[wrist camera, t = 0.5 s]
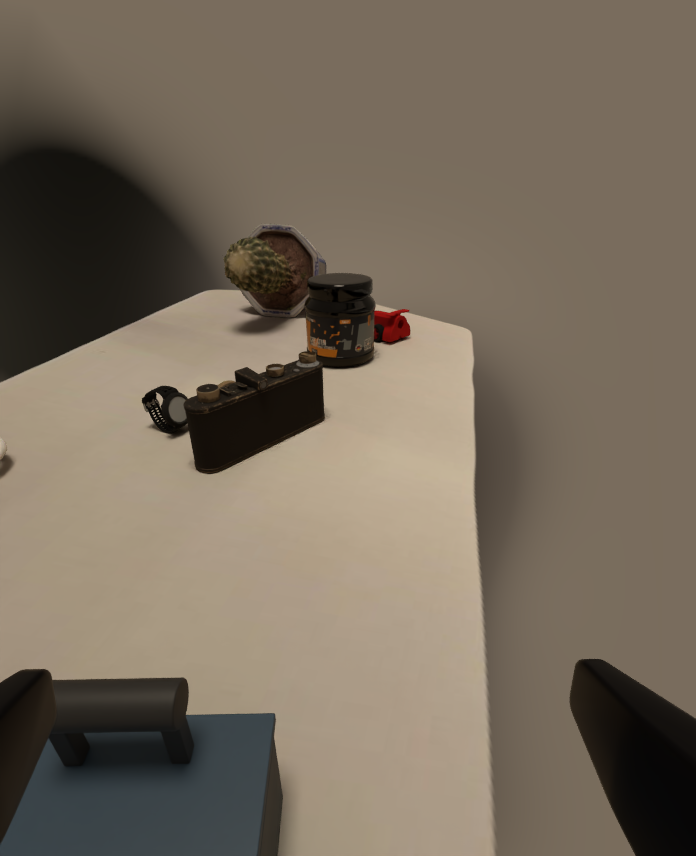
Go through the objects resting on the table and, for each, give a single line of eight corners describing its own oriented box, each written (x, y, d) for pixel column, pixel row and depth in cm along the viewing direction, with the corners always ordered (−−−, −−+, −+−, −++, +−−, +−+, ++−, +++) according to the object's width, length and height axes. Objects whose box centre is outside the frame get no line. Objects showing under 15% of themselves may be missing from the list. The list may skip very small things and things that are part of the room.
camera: (294, 403, 58) (290, 341, 54) (333, 419, 54) (331, 353, 50) (173, 454, 47) (158, 381, 43) (210, 479, 43) (196, 401, 39)
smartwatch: (164, 442, 49) (155, 400, 47) (145, 426, 53) (135, 385, 50) (200, 430, 52) (193, 389, 49) (180, 415, 55) (172, 376, 53)
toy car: (339, 319, 92) (339, 294, 90) (410, 338, 81) (412, 309, 79) (317, 325, 89) (316, 299, 86) (388, 345, 78) (390, 316, 75)
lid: (19, 724, 19) (-24, 654, 17) (275, 719, 19) (266, 648, 17) (-219, 1126, 11) (-356, 1086, 9) (229, 1114, 11) (199, 1071, 9)
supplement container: (293, 356, 73) (288, 278, 68) (345, 342, 79) (344, 269, 74) (335, 375, 66) (333, 289, 61) (388, 358, 72) (391, 279, 66)
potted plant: (262, 232, 104) (188, 201, 75) (340, 237, 100) (292, 208, 72) (258, 312, 108) (187, 312, 80) (332, 320, 105) (285, 323, 76)
